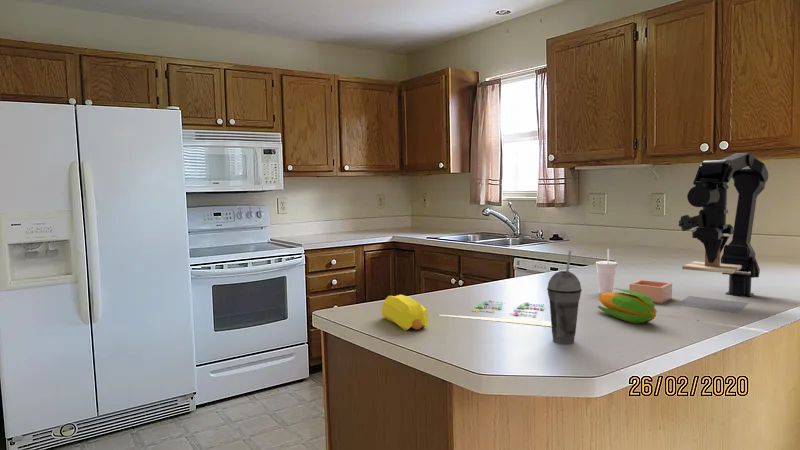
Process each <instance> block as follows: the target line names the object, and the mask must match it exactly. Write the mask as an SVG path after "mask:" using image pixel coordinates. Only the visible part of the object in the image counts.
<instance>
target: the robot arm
mask: <svg viewBox="0 0 800 450" xmlns="http://www.w3.org/2000/svg"><path fill="white" fill-rule="evenodd" d="M731 179H732V180H733V186H734V188H735V189H736V191H737V193H738V197H737V204H736V211H735V217H734V224H733V226H732V225H731V224H730V223H727V214H728V213H729V209H727V201H728V200H727V199H728V189H729V188H730V187H729V185H728V183H729V182H730V180H731ZM768 179H769V171H768V169H767V167H766V165H765V163H764V162H763V161H761V160H759V159H757V158H756V157H755V156H754V154H753V153H750V152H735V153H733V154H731V155H729V156H727V157H725V158H724V157H723V158H721V159H718V160H717V159H715V160H703V161H702V162H701V163H700V165H699V166H698V169H697V171H696V174H695V177H694V180H693V182H692V184H693V185H694V186H692V187H691V188H690V189H689V191H688V193H687V195H686V196H687V197H686V199H687V201H688V203H689V204H690V205H691V206H693V207H695V208H701V209H700V210H699V211H698V214H697V215H694V216H690V215H689V214H686V215H685V214H684V215H681V216H680V220H678V227H680V229H681V231H682V232H685V231H690V230H692V229H693V230H692V231H691V233H692V234H691V237H692V239H696V240H698V241H699V242H700V243H702V244H703V246H704V250H705V251H706V254H707V258H708V262H709V263H713V262H714V260H715V258H716V255H717V253H718V251H719V249H720V254H721V253H723V254H722V255H721V256H720V263H722V264H734V265H742V268H741V269H739V270H738V271H736V272H734V273H733V274H730V273H721V274H722V275H729V276H728V290H727V292H726V293H724V295H728V296H737V297H745V298H750V297H752V296H754V295H755V293H754V292H752V279H754V278H760V277H759V276H760V272H761V271H760V270H761V268H760V265H759V263H758V260H757V259H756V252H755V249H754V248H753V245H751V244H752V243H751V240H752V233H753V226H754V220H755V212H756V204H757V198H758V196H759V195H760V194H761V193H762V192H763V191H764V190H765V187H766V182H768ZM724 234H725V235H724ZM726 234H728V235H731V236H732V239H731V241H730V242H729V243H728V244H726V243H727V242H728V240H729V239H730V236H728V235H727V236H726ZM705 251H704V252H705ZM722 251H723V252H722Z"/></svg>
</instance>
